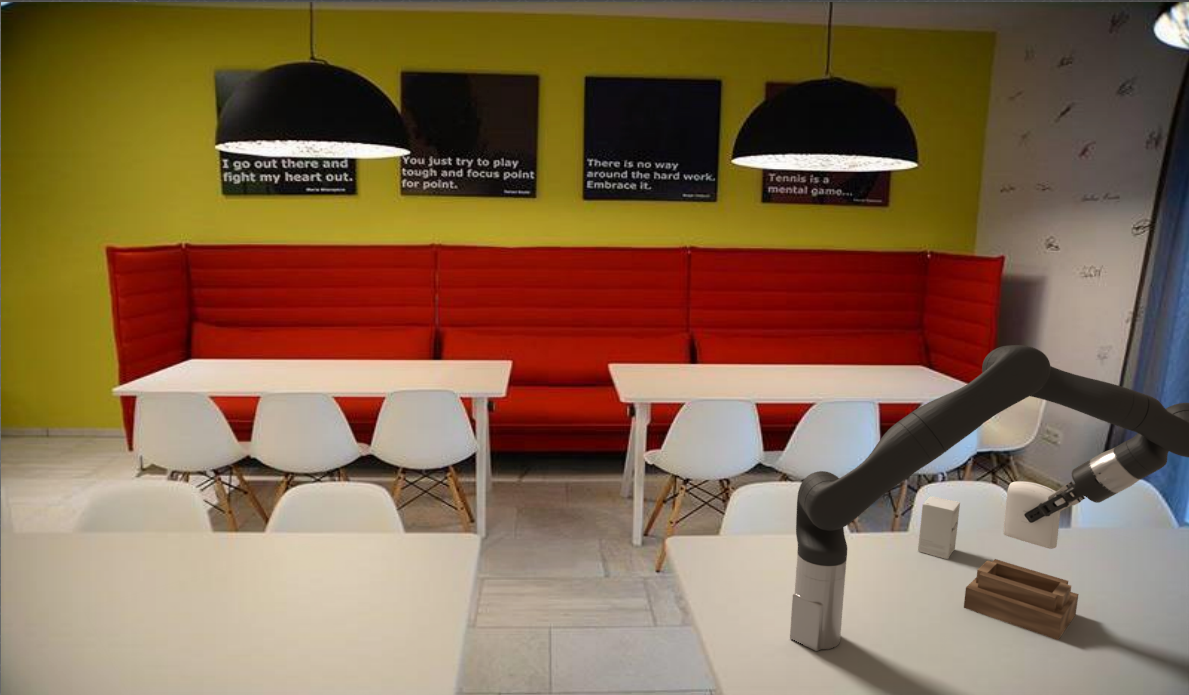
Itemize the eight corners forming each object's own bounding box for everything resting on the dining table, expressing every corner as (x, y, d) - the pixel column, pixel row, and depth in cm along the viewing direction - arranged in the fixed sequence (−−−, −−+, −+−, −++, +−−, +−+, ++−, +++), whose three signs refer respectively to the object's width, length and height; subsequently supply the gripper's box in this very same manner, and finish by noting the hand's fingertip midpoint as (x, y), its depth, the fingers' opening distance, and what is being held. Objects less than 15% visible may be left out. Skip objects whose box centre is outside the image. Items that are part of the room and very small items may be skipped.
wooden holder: (1057, 641, 157) (1062, 604, 155) (963, 609, 169) (967, 574, 167) (1075, 616, 167) (1080, 580, 165) (985, 587, 179) (989, 554, 177)
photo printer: (999, 535, 167) (1005, 479, 165) (1007, 530, 170) (1014, 475, 168) (1051, 551, 159) (1058, 493, 157) (1059, 546, 162) (1067, 488, 160)
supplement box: (948, 560, 191) (953, 510, 189) (916, 551, 196) (921, 503, 193) (956, 549, 197) (961, 501, 195) (925, 541, 202) (929, 494, 199)
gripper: (1103, 451, 159) (1032, 491, 170) (1080, 466, 149) (1006, 508, 160) (1131, 483, 156) (1056, 522, 167) (1109, 500, 147) (1031, 541, 157)
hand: (1032, 515), depth 164 cm, fingers closed on photo printer, 4 cm apart
